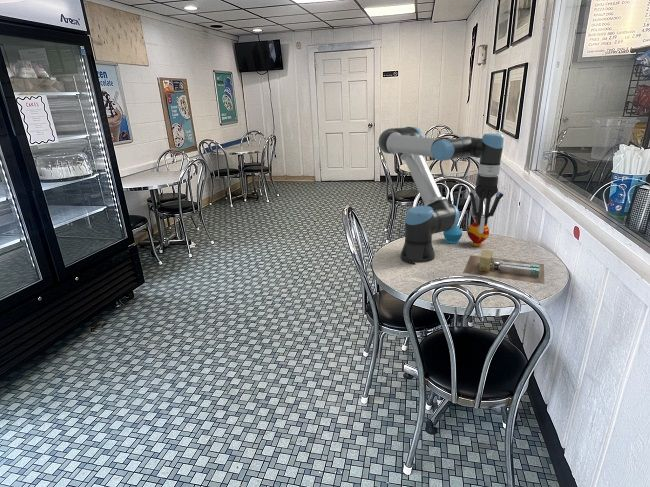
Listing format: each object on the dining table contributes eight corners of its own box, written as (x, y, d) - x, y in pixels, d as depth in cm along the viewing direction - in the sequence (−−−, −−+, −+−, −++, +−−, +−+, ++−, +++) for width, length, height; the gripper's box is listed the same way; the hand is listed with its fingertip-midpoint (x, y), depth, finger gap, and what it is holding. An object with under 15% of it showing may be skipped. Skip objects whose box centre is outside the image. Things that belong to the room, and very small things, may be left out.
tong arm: (491, 269, 160) (492, 263, 159) (491, 265, 164) (492, 259, 163) (538, 274, 153) (539, 267, 152) (537, 270, 157) (538, 264, 156)
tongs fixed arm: (476, 268, 162) (477, 262, 161) (477, 265, 165) (478, 259, 164) (538, 276, 152) (539, 270, 151) (538, 273, 155) (539, 267, 154)
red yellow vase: (461, 242, 196) (463, 213, 191) (479, 240, 199) (481, 211, 194) (475, 249, 187) (477, 218, 182) (493, 246, 189) (496, 216, 185)
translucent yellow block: (478, 270, 160) (480, 257, 158) (481, 262, 167) (482, 249, 165) (489, 272, 158) (490, 258, 156) (491, 264, 165) (492, 250, 164)
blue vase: (462, 244, 194) (465, 215, 189) (443, 244, 196) (445, 214, 191) (460, 238, 202) (462, 210, 197) (442, 238, 204) (443, 210, 199)
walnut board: (462, 275, 159) (463, 272, 159) (470, 257, 177) (470, 255, 176) (544, 286, 146) (544, 283, 146) (543, 266, 164) (543, 264, 163)
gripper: (471, 176, 151) (465, 234, 159) (508, 177, 148) (499, 236, 156) (469, 172, 157) (463, 228, 166) (504, 173, 155) (495, 230, 163)
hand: (480, 232), depth 161 cm, fingers closed
